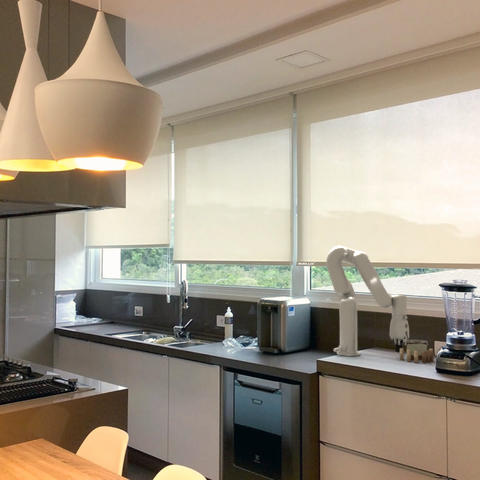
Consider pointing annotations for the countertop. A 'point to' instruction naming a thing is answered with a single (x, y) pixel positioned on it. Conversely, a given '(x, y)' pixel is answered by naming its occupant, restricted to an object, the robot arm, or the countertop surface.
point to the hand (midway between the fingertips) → (398, 351)
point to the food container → (416, 347)
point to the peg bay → (426, 355)
